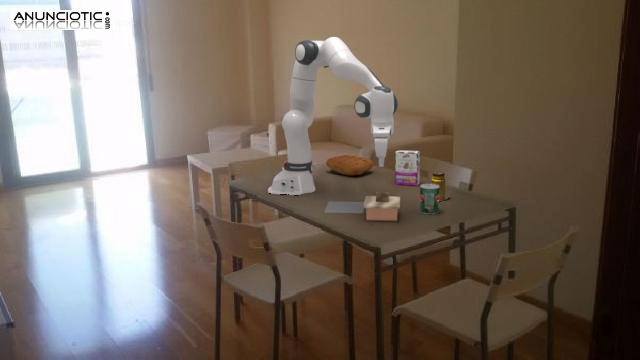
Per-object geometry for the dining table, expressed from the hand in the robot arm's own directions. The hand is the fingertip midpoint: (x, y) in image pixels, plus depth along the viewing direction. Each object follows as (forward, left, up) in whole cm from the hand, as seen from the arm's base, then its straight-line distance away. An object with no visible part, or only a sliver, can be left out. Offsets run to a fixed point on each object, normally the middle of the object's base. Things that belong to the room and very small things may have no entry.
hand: (381, 163), depth 237 cm
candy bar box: (+10, +52, -23) cm, 58 cm away
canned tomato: (+19, +9, -23) cm, 31 cm away
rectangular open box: (0, 0, -22) cm, 22 cm away
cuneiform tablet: (-20, +74, -23) cm, 80 cm away
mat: (-16, +11, -22) cm, 29 cm away
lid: (0, 0, -16) cm, 16 cm away
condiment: (+24, +28, -23) cm, 43 cm away
